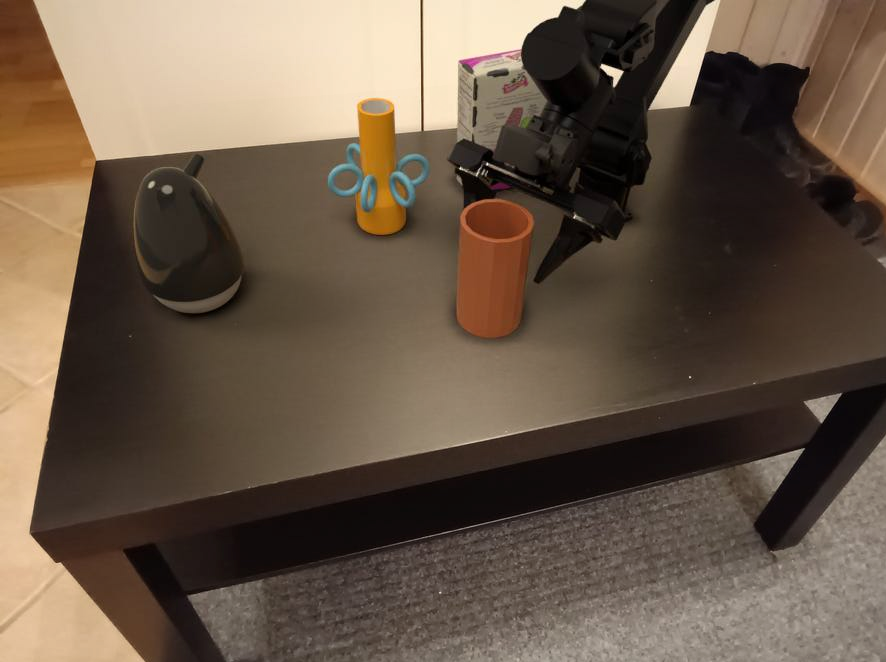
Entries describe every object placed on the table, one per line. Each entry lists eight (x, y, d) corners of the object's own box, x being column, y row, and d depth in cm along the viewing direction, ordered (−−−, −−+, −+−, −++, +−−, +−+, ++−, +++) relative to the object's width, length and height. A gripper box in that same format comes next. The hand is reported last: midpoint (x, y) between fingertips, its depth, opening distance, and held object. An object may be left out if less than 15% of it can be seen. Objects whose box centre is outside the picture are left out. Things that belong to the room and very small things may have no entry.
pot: (499, 287, 79) (509, 192, 70) (533, 325, 75) (547, 229, 66) (445, 305, 77) (447, 209, 68) (476, 346, 73) (483, 249, 64)
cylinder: (409, 258, 82) (407, 141, 71) (324, 243, 83) (309, 126, 72) (435, 201, 90) (436, 89, 79) (357, 188, 91) (348, 76, 80)
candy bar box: (524, 163, 98) (538, 44, 86) (543, 181, 95) (559, 60, 83) (453, 179, 94) (456, 57, 82) (469, 199, 91) (476, 75, 79)
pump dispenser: (269, 278, 78) (244, 155, 67) (215, 338, 71) (177, 213, 60) (190, 255, 80) (153, 133, 69) (130, 312, 73) (78, 186, 62)
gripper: (460, 59, 66) (389, 210, 68) (637, 123, 59) (554, 288, 61) (500, 107, 77) (438, 237, 78) (655, 166, 70) (583, 307, 71)
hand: (498, 264), depth 72 cm, fingers open, 9 cm apart
